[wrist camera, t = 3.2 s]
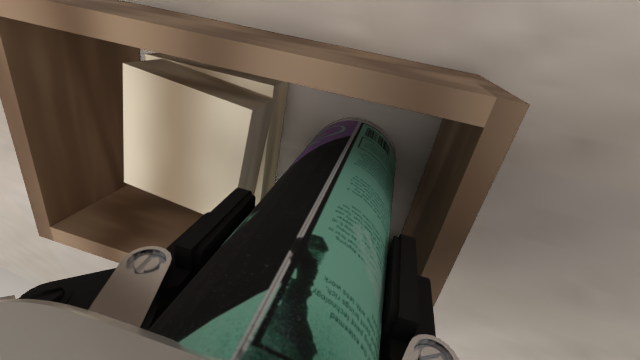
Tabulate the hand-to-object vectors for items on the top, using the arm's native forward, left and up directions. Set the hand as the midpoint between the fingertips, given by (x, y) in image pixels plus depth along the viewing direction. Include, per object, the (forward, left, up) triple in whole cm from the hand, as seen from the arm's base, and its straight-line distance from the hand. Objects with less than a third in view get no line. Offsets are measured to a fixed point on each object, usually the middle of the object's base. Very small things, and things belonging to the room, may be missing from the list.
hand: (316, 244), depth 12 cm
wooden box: (+4, -3, -9) cm, 11 cm away
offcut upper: (+7, -5, -7) cm, 11 cm away
